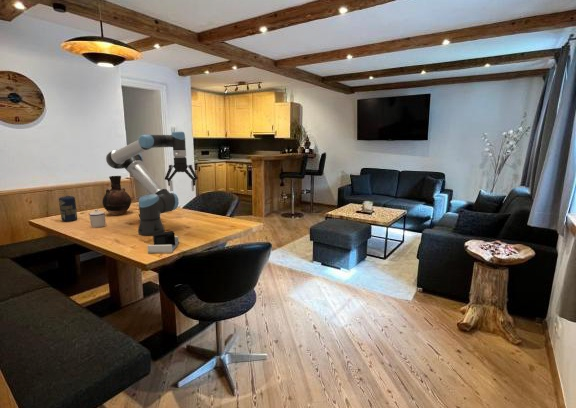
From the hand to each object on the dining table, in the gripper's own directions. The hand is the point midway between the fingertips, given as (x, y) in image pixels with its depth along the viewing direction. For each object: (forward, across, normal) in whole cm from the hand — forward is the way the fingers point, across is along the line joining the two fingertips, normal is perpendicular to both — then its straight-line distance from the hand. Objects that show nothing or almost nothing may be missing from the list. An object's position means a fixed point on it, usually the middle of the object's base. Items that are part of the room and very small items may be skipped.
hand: (182, 190), depth 200 cm
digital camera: (+25, -1, -33) cm, 42 cm away
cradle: (+26, -1, -34) cm, 42 cm away
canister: (+25, -89, +22) cm, 95 cm away
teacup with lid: (+25, -62, +9) cm, 68 cm away
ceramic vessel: (+25, -65, +43) cm, 82 cm away
